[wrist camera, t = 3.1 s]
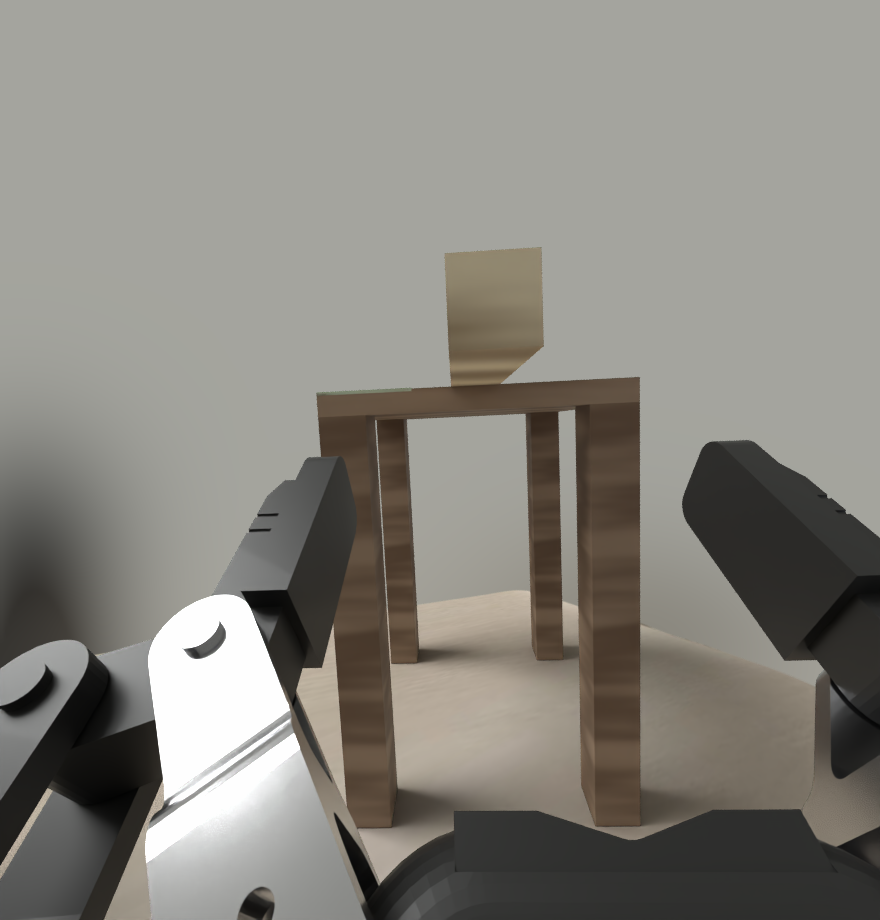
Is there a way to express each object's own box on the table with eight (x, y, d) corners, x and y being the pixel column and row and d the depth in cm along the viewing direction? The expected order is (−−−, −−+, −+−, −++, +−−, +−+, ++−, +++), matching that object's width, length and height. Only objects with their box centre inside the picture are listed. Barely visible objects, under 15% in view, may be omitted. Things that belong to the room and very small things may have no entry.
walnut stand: (640, 825, 27) (639, 376, 24) (348, 827, 28) (316, 392, 25) (556, 644, 49) (551, 398, 46) (395, 648, 49) (380, 407, 47)
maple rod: (543, 346, 12) (541, 247, 12) (449, 351, 13) (444, 253, 12) (479, 402, 44) (478, 374, 44) (452, 403, 44) (451, 376, 44)
